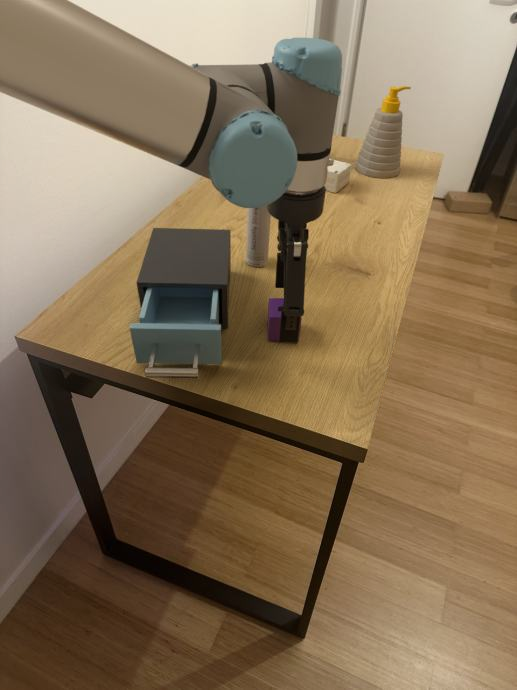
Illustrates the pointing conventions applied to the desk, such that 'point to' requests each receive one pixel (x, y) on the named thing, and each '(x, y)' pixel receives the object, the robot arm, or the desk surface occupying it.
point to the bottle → (257, 236)
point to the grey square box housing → (188, 262)
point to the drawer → (178, 330)
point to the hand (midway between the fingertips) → (285, 312)
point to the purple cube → (275, 319)
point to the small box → (337, 176)
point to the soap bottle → (383, 140)
